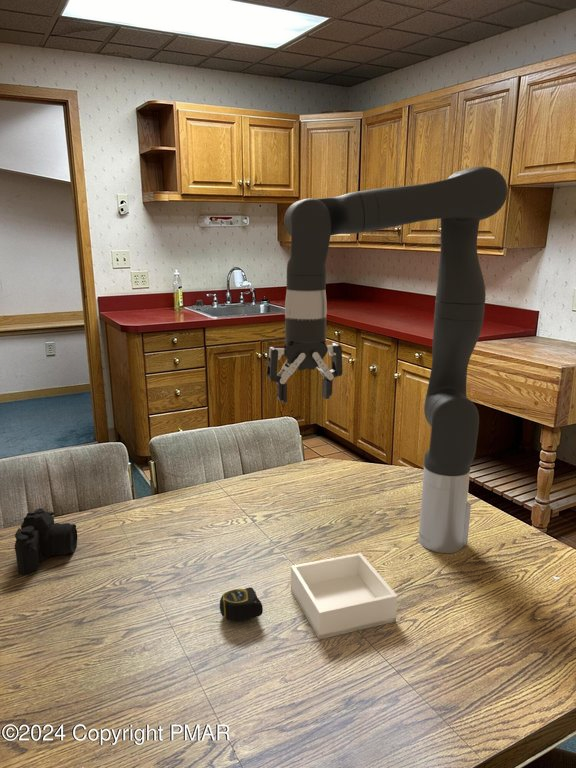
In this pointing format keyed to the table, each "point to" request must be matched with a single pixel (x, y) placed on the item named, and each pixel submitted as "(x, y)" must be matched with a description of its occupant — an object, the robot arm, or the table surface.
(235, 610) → the tape measure
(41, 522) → the film camera
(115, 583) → the table surface
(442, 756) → the table surface
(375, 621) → the bin
